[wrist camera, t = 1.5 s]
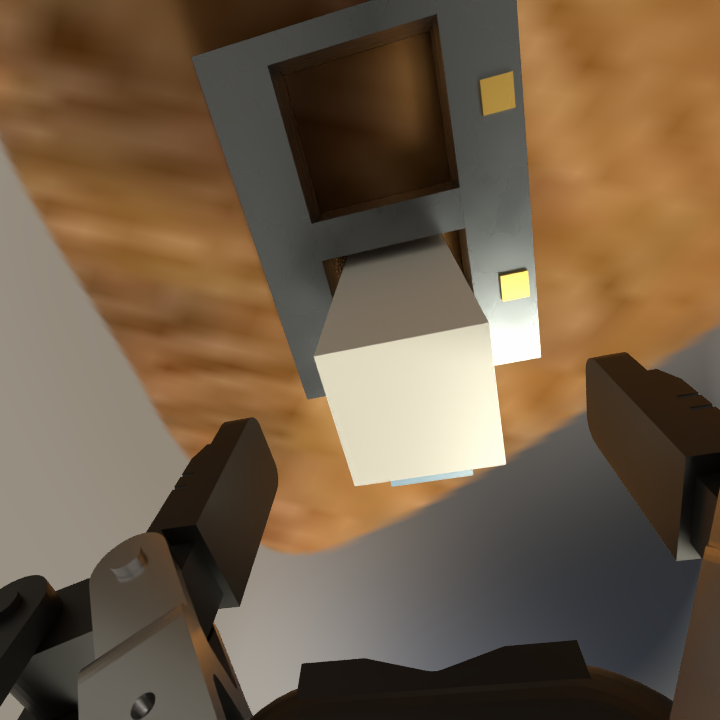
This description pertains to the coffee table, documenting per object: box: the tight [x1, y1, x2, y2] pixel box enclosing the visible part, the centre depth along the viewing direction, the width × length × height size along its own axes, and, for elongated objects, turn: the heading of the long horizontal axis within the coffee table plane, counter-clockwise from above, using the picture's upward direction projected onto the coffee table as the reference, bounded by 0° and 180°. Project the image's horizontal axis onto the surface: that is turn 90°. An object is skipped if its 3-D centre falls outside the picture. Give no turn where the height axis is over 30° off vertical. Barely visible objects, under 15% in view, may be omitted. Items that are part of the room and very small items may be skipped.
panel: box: [191, 0, 541, 399], centre depth 17 cm, size 13×10×3 cm
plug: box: [314, 234, 506, 487], centre depth 16 cm, size 5×4×10 cm
